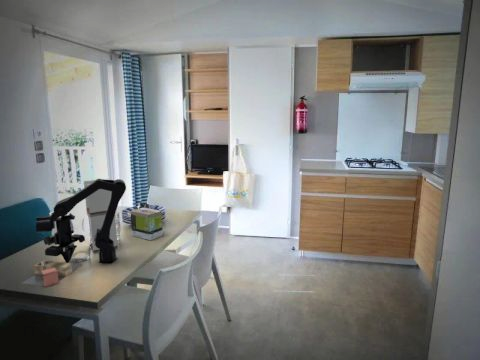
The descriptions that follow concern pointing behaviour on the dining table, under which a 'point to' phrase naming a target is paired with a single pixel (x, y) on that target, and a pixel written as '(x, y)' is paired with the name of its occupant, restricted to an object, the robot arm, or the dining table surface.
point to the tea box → (146, 223)
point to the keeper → (50, 276)
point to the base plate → (40, 281)
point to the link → (61, 268)
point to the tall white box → (99, 213)
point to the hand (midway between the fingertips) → (67, 262)
